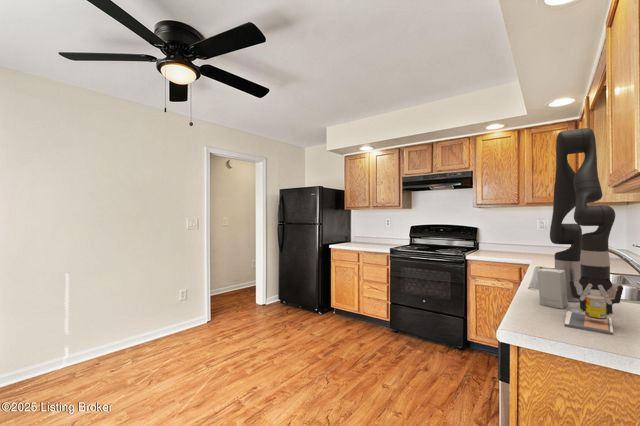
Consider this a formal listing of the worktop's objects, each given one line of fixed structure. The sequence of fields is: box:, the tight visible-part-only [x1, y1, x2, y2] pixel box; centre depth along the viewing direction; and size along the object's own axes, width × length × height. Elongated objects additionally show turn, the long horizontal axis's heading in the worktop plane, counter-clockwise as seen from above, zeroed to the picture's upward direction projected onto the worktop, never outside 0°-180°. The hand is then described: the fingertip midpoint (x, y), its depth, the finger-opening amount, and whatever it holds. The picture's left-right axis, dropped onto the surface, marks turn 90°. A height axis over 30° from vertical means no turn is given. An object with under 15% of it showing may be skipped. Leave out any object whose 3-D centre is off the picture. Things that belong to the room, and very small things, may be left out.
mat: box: [563, 310, 614, 336], centre depth 106 cm, size 12×16×1 cm
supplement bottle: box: [584, 289, 608, 321], centre depth 105 cm, size 6×6×10 cm
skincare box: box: [537, 267, 569, 310], centre depth 126 cm, size 8×6×15 cm
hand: (595, 312), depth 105 cm, fingers closed on supplement bottle, 5 cm apart
